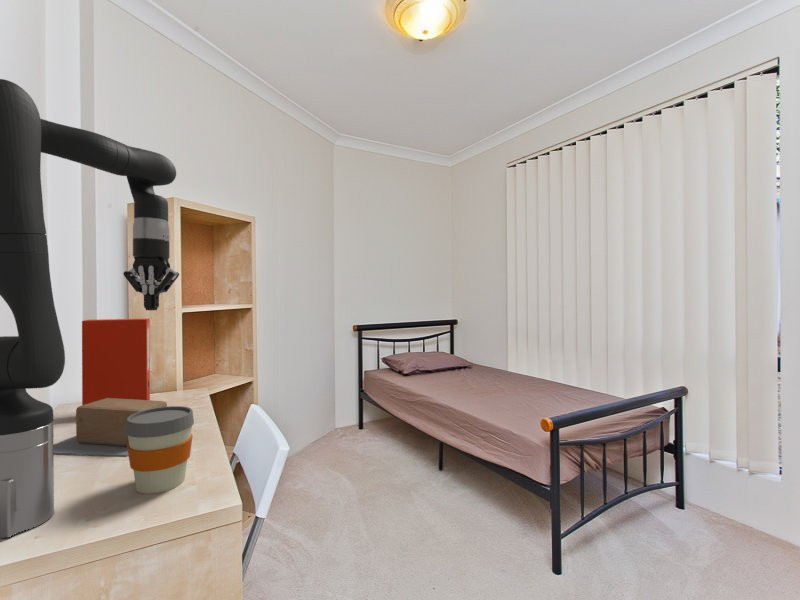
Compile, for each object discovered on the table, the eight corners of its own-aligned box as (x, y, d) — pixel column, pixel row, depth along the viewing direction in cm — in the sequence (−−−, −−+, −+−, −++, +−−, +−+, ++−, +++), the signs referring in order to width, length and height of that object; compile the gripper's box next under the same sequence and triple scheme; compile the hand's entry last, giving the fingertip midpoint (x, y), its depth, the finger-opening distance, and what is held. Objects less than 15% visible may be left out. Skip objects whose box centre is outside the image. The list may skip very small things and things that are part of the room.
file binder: (89, 414, 131) (88, 319, 130) (149, 408, 138) (149, 318, 138) (82, 421, 123) (81, 321, 123) (146, 414, 131) (146, 319, 131)
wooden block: (139, 410, 101) (74, 406, 104) (140, 448, 101) (74, 443, 104) (168, 400, 111) (107, 396, 114) (168, 435, 111) (107, 430, 114)
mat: (126, 456, 98) (126, 454, 97) (35, 453, 99) (35, 452, 99) (167, 433, 113) (167, 432, 113) (89, 431, 115) (89, 430, 115)
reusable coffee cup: (186, 465, 93) (186, 402, 93) (200, 484, 84) (200, 415, 83) (122, 481, 85) (121, 413, 84) (130, 505, 75) (129, 428, 75)
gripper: (113, 236, 91) (113, 310, 91) (167, 236, 90) (167, 311, 90) (136, 241, 98) (136, 309, 99) (187, 241, 98) (187, 309, 98)
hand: (151, 310), depth 95 cm, fingers closed
